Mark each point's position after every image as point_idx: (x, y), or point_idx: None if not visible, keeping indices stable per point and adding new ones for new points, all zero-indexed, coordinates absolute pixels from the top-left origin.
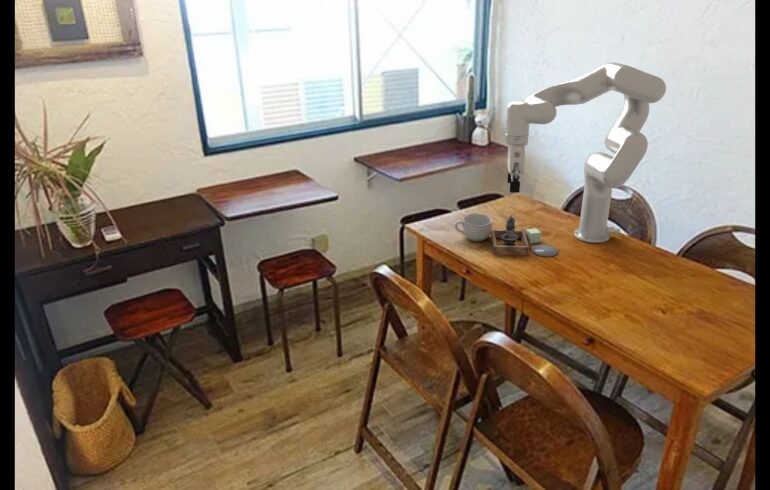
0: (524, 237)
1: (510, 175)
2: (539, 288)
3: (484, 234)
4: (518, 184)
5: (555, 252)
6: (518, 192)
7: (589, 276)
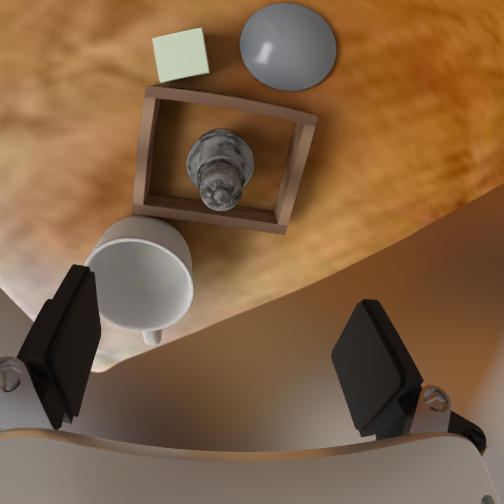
0: (221, 102)
1: (79, 383)
2: (473, 166)
3: (188, 250)
4: (401, 364)
5: (318, 20)
6: (371, 302)
7: (456, 19)
